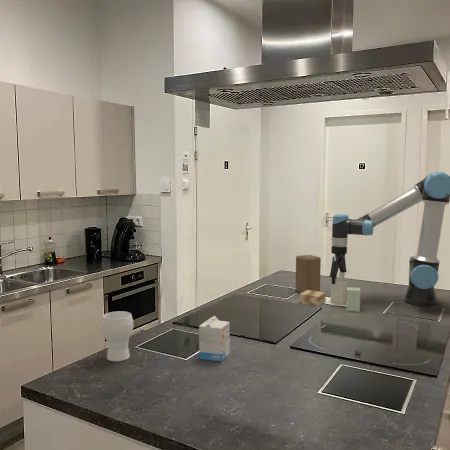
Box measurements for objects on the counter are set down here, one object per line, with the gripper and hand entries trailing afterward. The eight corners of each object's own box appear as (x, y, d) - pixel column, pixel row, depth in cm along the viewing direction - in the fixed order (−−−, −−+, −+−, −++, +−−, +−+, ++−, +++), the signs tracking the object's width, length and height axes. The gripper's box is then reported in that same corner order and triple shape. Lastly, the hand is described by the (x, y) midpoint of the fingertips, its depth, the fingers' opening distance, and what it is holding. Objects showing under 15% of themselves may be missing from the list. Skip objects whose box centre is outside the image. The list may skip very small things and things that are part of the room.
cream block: (345, 301, 234) (346, 282, 233) (342, 304, 228) (342, 284, 228) (334, 299, 237) (334, 280, 236) (330, 302, 231) (330, 283, 230)
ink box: (221, 362, 156) (221, 323, 155) (198, 359, 159) (198, 321, 158) (230, 353, 164) (230, 316, 163) (208, 350, 167) (208, 314, 166)
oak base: (325, 302, 234) (325, 292, 233) (318, 306, 225) (318, 296, 225) (306, 299, 239) (307, 289, 238) (299, 303, 230) (299, 294, 230)
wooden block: (294, 291, 254) (295, 255, 252) (309, 289, 259) (310, 254, 257) (305, 295, 245) (305, 258, 243) (320, 293, 250) (321, 257, 248)
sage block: (359, 308, 221) (360, 287, 220) (359, 311, 215) (360, 290, 214) (346, 307, 223) (346, 287, 222) (346, 310, 217) (346, 289, 216)
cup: (133, 362, 156) (132, 318, 155) (101, 364, 155) (99, 320, 153) (134, 350, 167) (133, 310, 165) (104, 352, 165) (102, 311, 163)
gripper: (339, 242, 242) (337, 281, 245) (324, 248, 221) (322, 291, 223) (353, 243, 239) (351, 283, 241) (339, 249, 217) (337, 293, 219)
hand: (337, 287), depth 232 cm, fingers open, 13 cm apart
